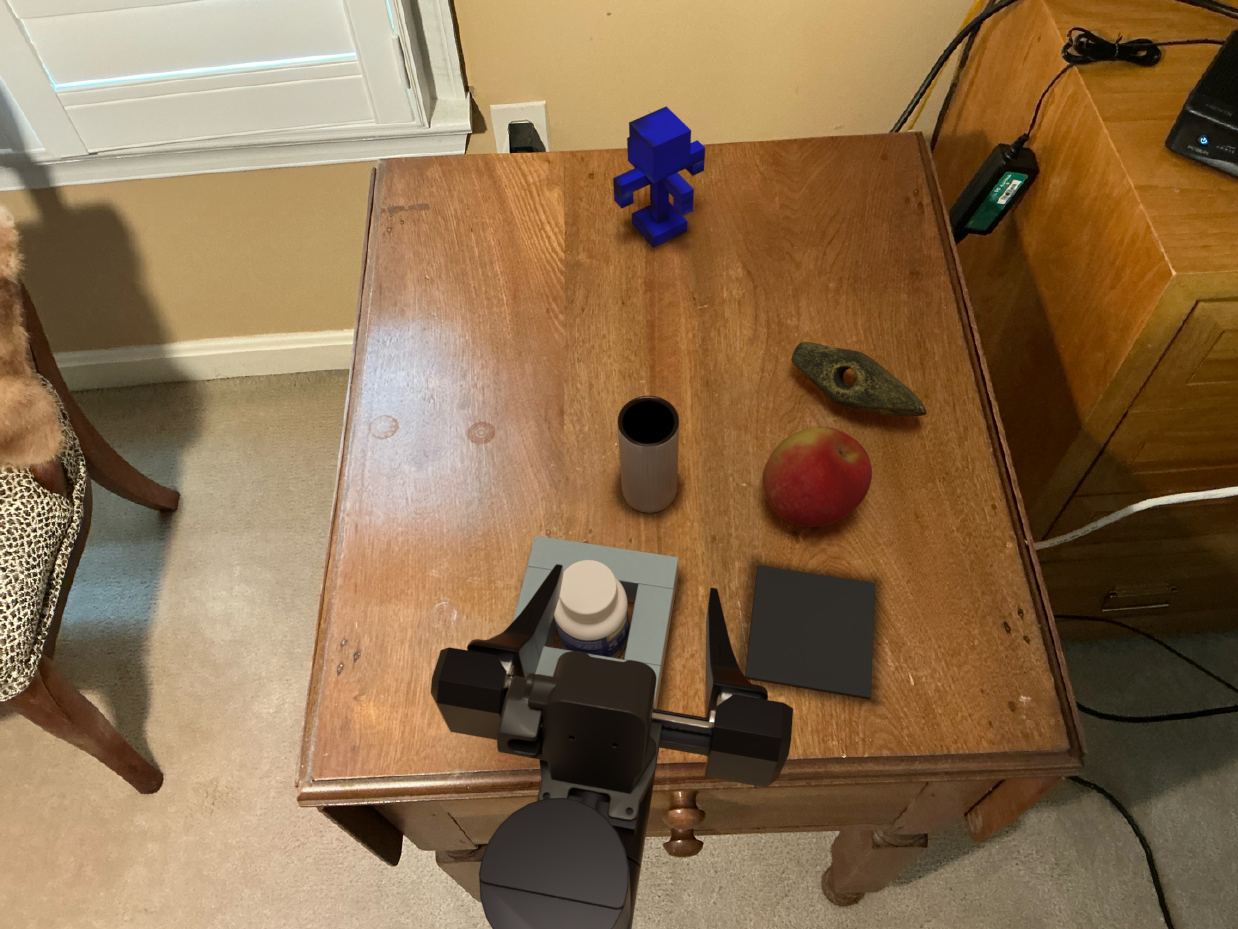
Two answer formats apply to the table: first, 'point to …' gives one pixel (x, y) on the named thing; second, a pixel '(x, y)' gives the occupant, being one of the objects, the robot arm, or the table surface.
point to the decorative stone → (872, 381)
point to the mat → (812, 632)
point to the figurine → (660, 174)
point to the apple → (816, 476)
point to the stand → (643, 583)
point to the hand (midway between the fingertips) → (636, 579)
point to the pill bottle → (592, 610)
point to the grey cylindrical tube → (648, 452)
